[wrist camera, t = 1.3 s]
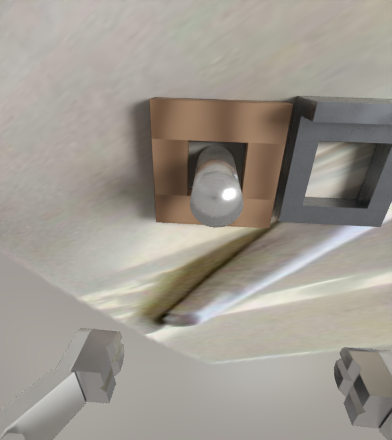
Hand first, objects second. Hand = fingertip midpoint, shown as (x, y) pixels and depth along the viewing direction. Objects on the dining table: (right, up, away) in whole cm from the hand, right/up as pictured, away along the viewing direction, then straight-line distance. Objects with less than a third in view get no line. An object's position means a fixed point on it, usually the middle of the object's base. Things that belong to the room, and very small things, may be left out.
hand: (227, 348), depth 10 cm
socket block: (+1, +11, +21) cm, 24 cm away
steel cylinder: (+1, +11, +21) cm, 24 cm away
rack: (+15, +11, +21) cm, 28 cm away
